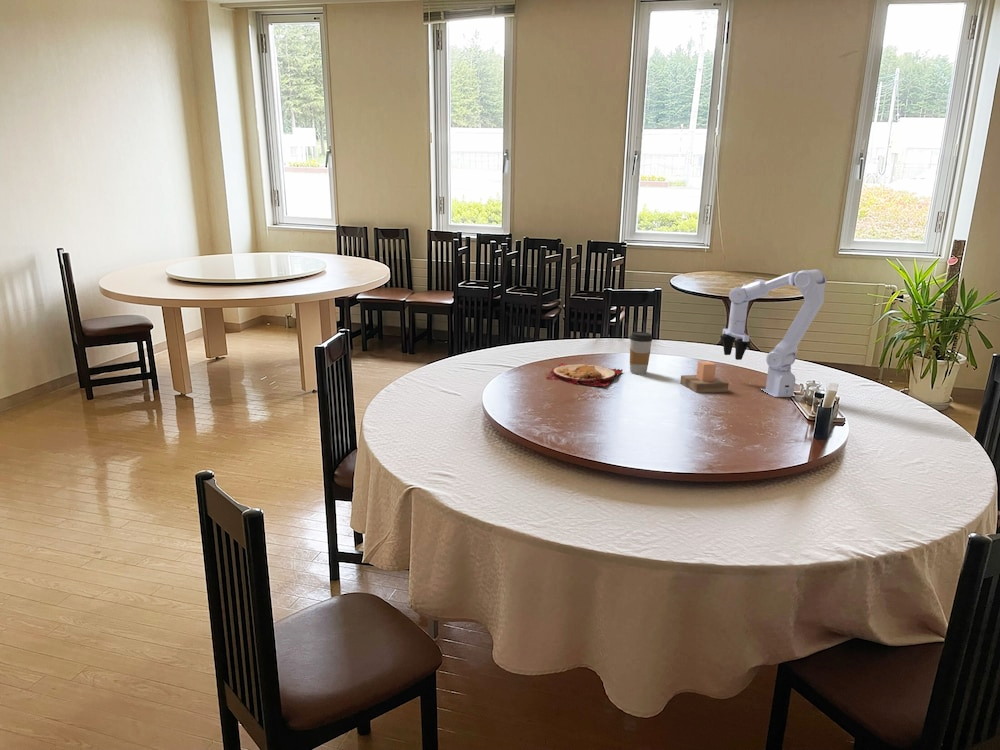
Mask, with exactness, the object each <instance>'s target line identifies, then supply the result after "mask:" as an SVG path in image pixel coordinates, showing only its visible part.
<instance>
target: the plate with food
mask: <svg viewBox="0 0 1000 750" xmlns="http://www.w3.org/2000/svg"><path fill="white" fill-rule="evenodd" d="M564 365H565V366H564ZM622 372H623V369H622V368H621V369H620V368H608V367H606V366H601V365H595V364H594V365H592V364H585V363H584V364H583V363H582V364H580V363H579V364H565V363H559V364H558V367H557V366H556V367H553V368H551V371H550V372H549V374H548V375H547V373H546V374H545V379H546V380H547V381H553V380H555V381H561V382H564V381H565V383H566V384H572V385H580V383H579V382H582V384H583V385H587V386H589V387H598V386H599V387H603V388H604V387H606V386H609V385H611V383H612V382H613V381H614V380H615V379H617V378H618V377H619V375H620V374H622ZM552 375H553V376H552ZM546 376H547V377H546ZM578 381H579V382H578Z"/></svg>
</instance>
